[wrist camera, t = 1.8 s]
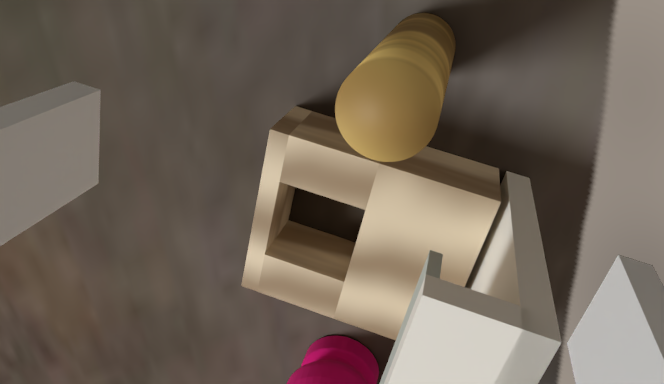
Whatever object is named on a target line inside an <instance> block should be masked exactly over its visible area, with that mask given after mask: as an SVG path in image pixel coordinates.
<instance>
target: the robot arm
mask: <svg viewBox="0 0 664 384" xmlns="http://www.w3.org/2000/svg"><path fill="white" fill-rule="evenodd" d="M99 131H100V90H99V89H96V88H93V87H90V86H87V85H84V84H80V83H77V82H74V81H73V82H71V83H68V84H65V85H62V86H59V87H56V88H53V89H51V90H48V91H45V92H42V93H39V94H36V95H34V96H31V97H28V98H25V99H22V100H19V101H16V102H14V103H11V104H8V105H5V106H2V107H0V246H1V245H3V244H4V243H6V242H7V241H9V240H10V239H12V238H14V237H15V236H17V235H18V234H20V233H21V232H23V231H25V230H26V229H28V228H29V227H31V226H32V225H34V224H35V223H37V222H39V221H40V220H42V219H43V218H45V217H46V216H48V215H50V214H51V213H53V212H54V211H56V210H57V209H59V208H61V207H62V206H64V205H65V204H67V203H68V202H70V201H71V200H73V199H75V198H76V197H78V196H79V195H81V194H82V193H84V192H86V191H87V190H89V189H90V188H92V187H93V186H95V185H97V184H98V173H99ZM567 346H568V350H569V355H570V360H571V365H572V369H573V374H574V379H575V383H576V384H664V286H663V284H662V282H661V281H660V279H659V277H658V275H657V273H656V271H655V269H654V267H653V266H652V265H650V264H646V263H643V262H640V261H637V260H634V259H631V258H627V257H624V256H621V255H618V256H617V258H616V259H615V261H614V263H613V265H612V266H611V268H610V270H609V272H608V273H607V275H606V277H605V278H604V280H603V282H602V284H601V286H600V287H599V289H598V291H597V292H596V294H595V296H594V297H593V299H592V301H591V303H590V304H589V306H588V308H587V309H586V311H585V313H584V315H583V317H582V318H581V320H580V322H579V323H578V325H577V327H576V328H575V330H574V332H573V334H572V335H571V337H570V339H569V341H568V342H567Z"/></svg>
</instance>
